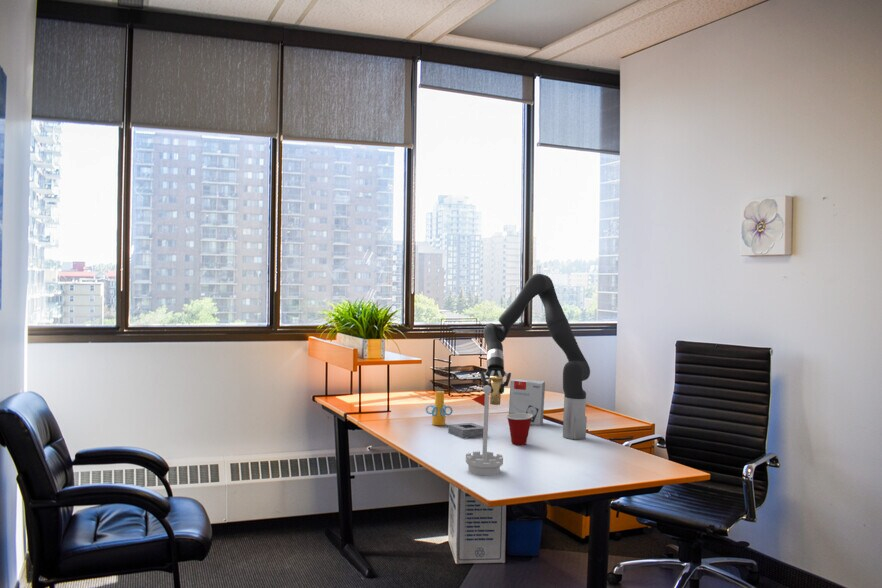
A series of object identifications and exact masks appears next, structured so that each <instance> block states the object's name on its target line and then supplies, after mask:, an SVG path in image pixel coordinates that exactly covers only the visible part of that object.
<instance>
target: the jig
mask: <svg viewBox="0 0 882 588" xmlns="http://www.w3.org/2000/svg"><path fill="white" fill-rule="evenodd" d="M483 428H484V425H483V426H482V425H479V424H477V423H473V422H466V423H451V424H448V431H447V432H448V434H452V435H453V436H455V437H459V438H461V439H470V438H471V439H472V438H481V437H482V436H483ZM482 438H483V437H482Z"/></svg>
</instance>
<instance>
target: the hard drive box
mask: <svg viewBox="0 0 882 588" xmlns="http://www.w3.org/2000/svg"><path fill="white" fill-rule="evenodd" d="M509 385H510V386H509V388H510V389H509V390H510V391H509V403H508V404H509V406H508V415H509V414H513V413H527V414H531V415H533V417H532V419H531V423H530V426H532V425H533V426H541V425H542V424H543V423H544V408H545V406H544V405H545V392H546V390H545V389H546V388H545V387H546V381H545V380H544V381H542V380H534V379H532V380H531V379H522V378H521V379H520V378H512V379H510V384H509Z"/></svg>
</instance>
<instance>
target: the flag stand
mask: <svg viewBox="0 0 882 588" xmlns="http://www.w3.org/2000/svg"><path fill="white" fill-rule="evenodd" d="M482 391H483V394H481V395H478V396H476V397H474V398H472V399H471V400H473V402H474V401H475V403H478V404H479V405H481V406H484V407H483V408H484V409H483V427H484V428H483V437H482V454H481V452H480V451H479V450H478V451H477V450H476V451H473V452H472V453H470V452H467V453H466V454H465V463H466V464H467V465H468V466H467V467H468V468H467V470H468V472H469V473H471V474H474V475H480V476H493V475H494V474H495V475H497V474H500V472H501V467H502V466H503V465H504V457H503V454H500V453H496V455H494V451H493V452H492V451H488V435H489V434H488V432H489V431H488V430H489V409H490V394H491V393H490V392H491V387H490V386H489V385H483V388H482Z"/></svg>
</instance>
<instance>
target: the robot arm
mask: <svg viewBox="0 0 882 588" xmlns="http://www.w3.org/2000/svg"><path fill="white" fill-rule="evenodd" d="M536 296H538V297H539V298H540V301H541V303H542V305H543V308H544V313H545V317H544V318H545V324H546V326H547V329H548V331H549V334H550V336H551V338H552V340H553V341H554V342H555V343H556V344H557V345H558V347H559V348H560V349H561V350H562V352H563V353H564V354H565V356H566V359H567V361H568V362H566V363H565V364H564V366H563V370H562V391H563V393H564V397H563V400H564V401H563V402H564V403H563V421H562V423H563V424H562V437H563V438H565V439H571V440H583V439H586V438H587V422H588V421H587V419H588V418H587V416H586V407H587V406H586V404H587V403H586V402H587V392H586V391H585V390H584V389H583V381H586V380H588V379H589V377H590V376H591V369H590V368H591V367H590V365H589V363H588V361H587V359H586V357H585V356H584V354H583V352H582V349H580V347H579V345H578V342H577V339H576V338H575V335H574V333H573V331H572V328H571V325H570V322H569V321H568V319H567V318H568V317H566V315H565V312H564V310H563V308H562V305H561V303H560V300H559V299H558V296H557V293H556V290H555V286H554V283H553V280H552V279H551V277H549V276H548V275H545V274H543V273H534V274H532V275H531V276H530V277H529V278H528V280H527V281H526V283H525V284H524V286H523V288H521V290H520V292H519V293H518V295H517V296H516V297H515V299H514V300H513V301H512V302H511V303H510V305H509V306H508V307H506V309H505V310H504V312H502V313H501V315H500V316H499V318H498V321H499V323H500V324H501V325H502V326H501V327H500V326H498V325H496V324H494V323H492V322H491V323H488V324H486V325H485V327H484V329H483V337H484V341H485V344H486V346H487V350H486V351H487V353H486V354H487V355H486V371H480V374H479V375H480V379H481V382H482V384H483V386H486V385H489V386H490V387H491V379H490V376H493V375H496V376H503V379H502V380H501V395H503V393H505V387H508V386H509V383H510V382H511V377H512V373H511V372H508V373H507V372H506V371H505V361H504V359H505V358H504V350H503V349H504V346H503V342H504V341H505V340H506V337H508V334H509V332H510V330H511V328H512V327H513V325H515V323H516V322H517V321H518V320H519V319H520V318H521V316H522V315H523V313H524V311H525V309H526V308H527V306H528V305H529V303H530V302H531V301H532V300H533V298H535V297H536ZM486 376H487V377H488V380H487V379H486ZM504 377H505V378H506V379H505V381H504ZM489 394H491V392H490V393H489Z"/></svg>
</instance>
